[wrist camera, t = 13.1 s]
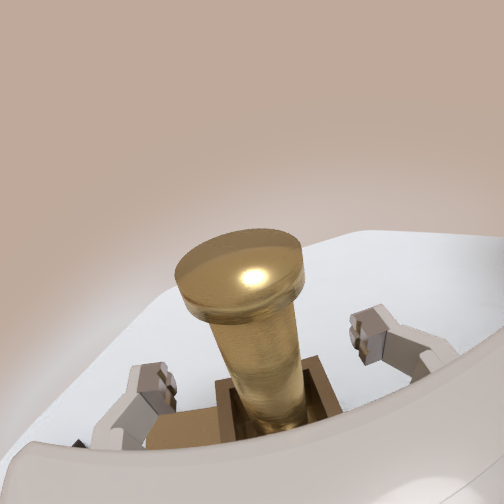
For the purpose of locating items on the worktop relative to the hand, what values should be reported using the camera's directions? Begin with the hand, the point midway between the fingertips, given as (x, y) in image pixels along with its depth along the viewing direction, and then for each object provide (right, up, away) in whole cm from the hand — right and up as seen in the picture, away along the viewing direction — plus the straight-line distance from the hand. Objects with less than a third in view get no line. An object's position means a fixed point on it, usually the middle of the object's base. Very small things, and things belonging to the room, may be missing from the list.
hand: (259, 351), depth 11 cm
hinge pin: (+2, -8, +4) cm, 9 cm away
